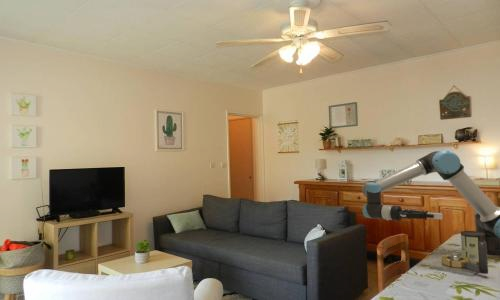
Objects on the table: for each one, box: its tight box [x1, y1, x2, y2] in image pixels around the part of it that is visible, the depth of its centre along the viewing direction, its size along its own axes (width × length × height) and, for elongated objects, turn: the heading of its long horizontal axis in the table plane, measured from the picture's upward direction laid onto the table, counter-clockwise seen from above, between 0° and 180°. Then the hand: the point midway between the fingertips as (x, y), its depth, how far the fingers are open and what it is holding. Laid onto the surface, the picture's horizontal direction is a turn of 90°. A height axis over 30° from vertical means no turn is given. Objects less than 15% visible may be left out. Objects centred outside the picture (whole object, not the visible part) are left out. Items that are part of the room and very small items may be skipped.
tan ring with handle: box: [440, 241, 489, 275], centre depth 157 cm, size 21×12×13 cm, turn 17°
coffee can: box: [460, 230, 485, 262], centre depth 169 cm, size 10×10×14 cm
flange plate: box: [428, 254, 481, 277], centre depth 160 cm, size 18×20×6 cm
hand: (441, 216), depth 160 cm, fingers closed
